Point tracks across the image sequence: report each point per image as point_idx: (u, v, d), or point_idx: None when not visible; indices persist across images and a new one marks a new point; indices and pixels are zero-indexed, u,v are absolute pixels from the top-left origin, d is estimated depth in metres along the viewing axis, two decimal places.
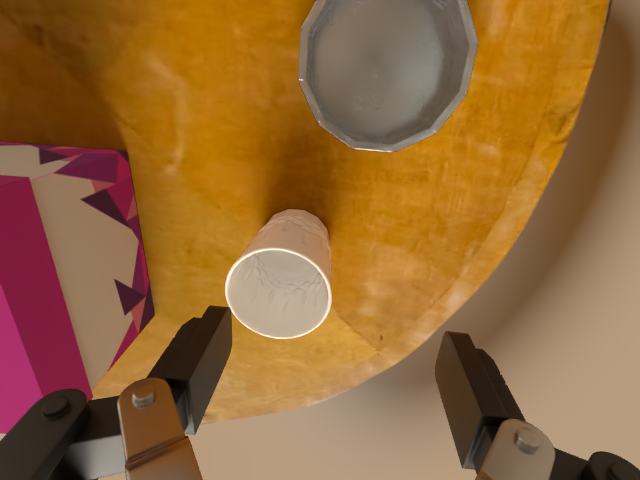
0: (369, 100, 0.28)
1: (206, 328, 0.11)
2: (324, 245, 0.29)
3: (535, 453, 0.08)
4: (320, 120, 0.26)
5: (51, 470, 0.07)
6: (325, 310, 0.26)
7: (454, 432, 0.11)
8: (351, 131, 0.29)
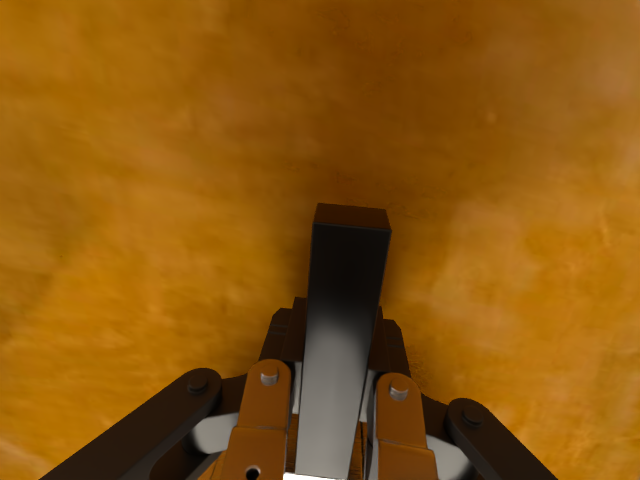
0: None
1: (300, 317, 0.12)
2: None
3: (401, 398, 0.09)
4: None
5: (176, 441, 0.08)
6: None
7: None
8: None
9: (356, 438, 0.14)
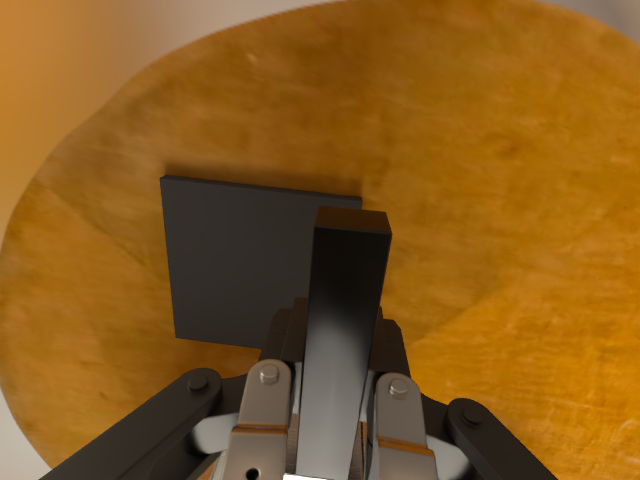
0: None
1: (300, 317, 0.12)
2: None
3: (401, 398, 0.09)
4: None
5: (176, 441, 0.08)
6: None
7: None
8: None
9: (356, 439, 0.14)
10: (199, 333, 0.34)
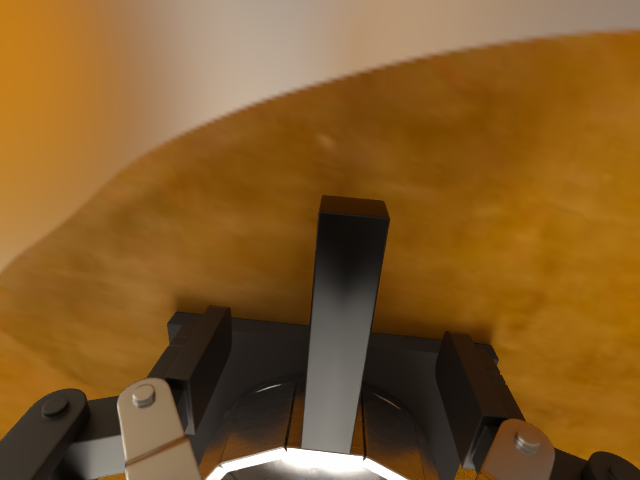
0: None
1: (206, 328, 0.11)
2: None
3: (535, 453, 0.08)
4: None
5: (51, 470, 0.07)
6: None
7: (454, 432, 0.11)
8: None
9: (358, 417, 0.15)
10: None
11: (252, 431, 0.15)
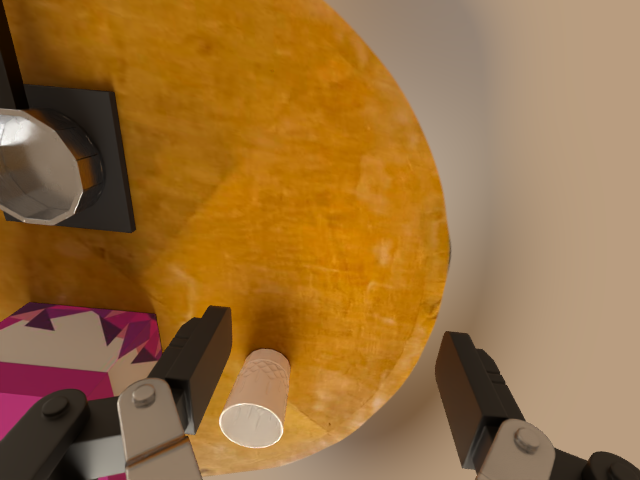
0: (50, 185, 0.40)
1: (206, 328, 0.11)
2: (282, 385, 0.46)
3: (535, 453, 0.08)
4: None
5: (51, 470, 0.07)
6: (280, 434, 0.43)
7: (454, 432, 0.11)
8: (46, 205, 0.41)
9: (34, 108, 0.35)
10: None
11: None
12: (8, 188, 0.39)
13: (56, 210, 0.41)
